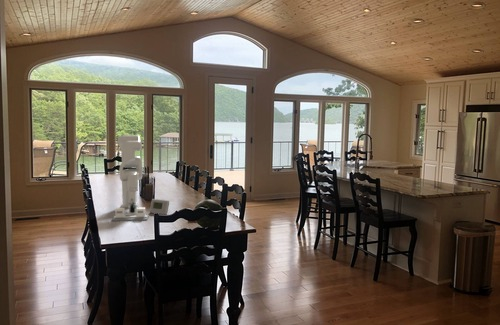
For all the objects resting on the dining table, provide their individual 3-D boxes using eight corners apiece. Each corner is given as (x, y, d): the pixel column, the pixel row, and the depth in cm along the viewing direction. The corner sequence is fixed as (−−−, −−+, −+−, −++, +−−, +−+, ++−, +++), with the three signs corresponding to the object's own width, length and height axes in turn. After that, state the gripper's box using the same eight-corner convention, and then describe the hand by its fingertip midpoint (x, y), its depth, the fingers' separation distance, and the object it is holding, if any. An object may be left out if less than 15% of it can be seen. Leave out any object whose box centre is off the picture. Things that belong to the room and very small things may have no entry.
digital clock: (148, 212, 318) (148, 199, 317) (156, 210, 326) (156, 197, 324) (163, 215, 310) (163, 202, 308) (171, 213, 317) (171, 200, 316)
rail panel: (115, 216, 304) (114, 206, 304) (148, 216, 308) (148, 206, 307) (111, 221, 292) (111, 210, 291) (146, 220, 295) (146, 210, 294)
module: (129, 213, 315) (129, 203, 314) (137, 213, 315) (137, 203, 315) (128, 215, 310) (128, 205, 309) (136, 215, 311) (136, 205, 310)
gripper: (129, 187, 318) (130, 208, 320) (125, 191, 301) (126, 213, 303) (139, 187, 319) (139, 208, 321) (136, 191, 302) (136, 213, 304)
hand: (133, 211), depth 312 cm, fingers open, 8 cm apart
